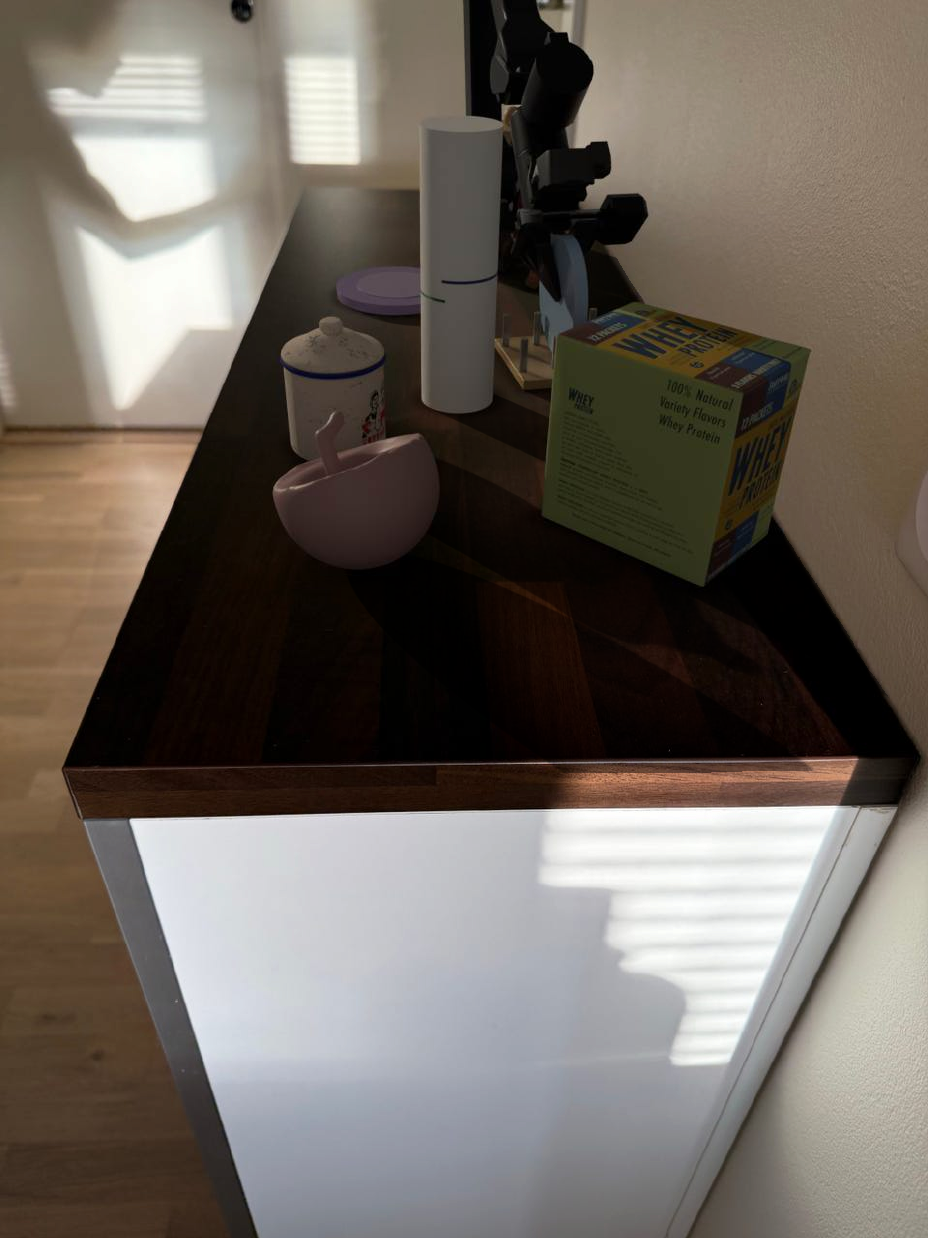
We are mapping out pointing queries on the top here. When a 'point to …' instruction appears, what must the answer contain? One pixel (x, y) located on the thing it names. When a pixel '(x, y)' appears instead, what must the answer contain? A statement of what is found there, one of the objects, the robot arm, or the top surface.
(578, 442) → the protein box
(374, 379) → the teacup with lid
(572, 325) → the blue plate
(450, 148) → the cylindrical container
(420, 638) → the top surface
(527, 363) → the dish rack
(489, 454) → the top surface
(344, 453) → the mortar and pestle
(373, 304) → the lavender plate
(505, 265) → the pottery mug
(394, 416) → the top surface
